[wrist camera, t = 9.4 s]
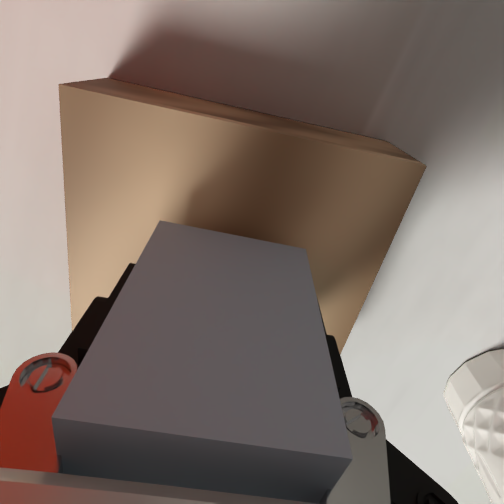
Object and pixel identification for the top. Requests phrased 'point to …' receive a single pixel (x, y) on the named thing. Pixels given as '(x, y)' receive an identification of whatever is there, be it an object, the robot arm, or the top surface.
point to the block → (209, 374)
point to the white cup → (481, 416)
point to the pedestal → (224, 188)
